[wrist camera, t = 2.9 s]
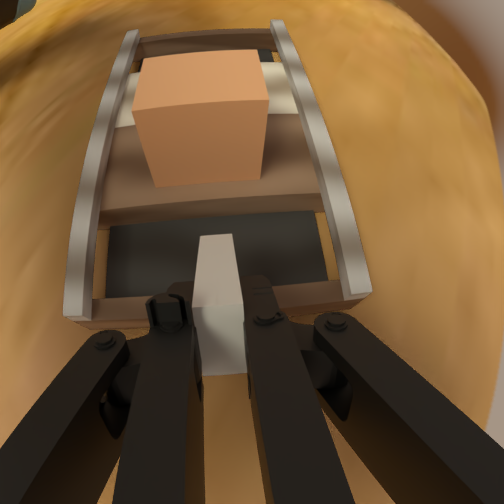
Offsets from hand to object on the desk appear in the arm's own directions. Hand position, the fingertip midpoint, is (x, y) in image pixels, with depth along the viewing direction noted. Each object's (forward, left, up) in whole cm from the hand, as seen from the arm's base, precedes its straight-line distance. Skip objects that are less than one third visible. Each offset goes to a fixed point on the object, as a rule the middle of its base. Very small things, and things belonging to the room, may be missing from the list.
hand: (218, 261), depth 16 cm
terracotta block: (-12, -1, -6) cm, 13 cm away
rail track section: (-16, -1, -9) cm, 18 cm away
